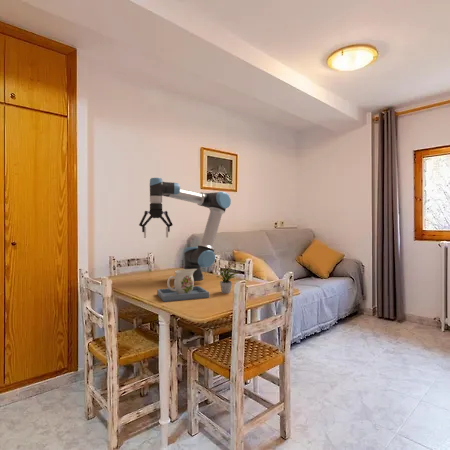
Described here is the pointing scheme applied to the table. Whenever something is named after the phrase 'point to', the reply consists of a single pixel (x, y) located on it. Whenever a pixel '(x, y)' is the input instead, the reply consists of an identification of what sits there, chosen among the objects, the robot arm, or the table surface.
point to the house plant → (226, 280)
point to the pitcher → (182, 281)
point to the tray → (170, 295)
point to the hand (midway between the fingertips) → (156, 237)
